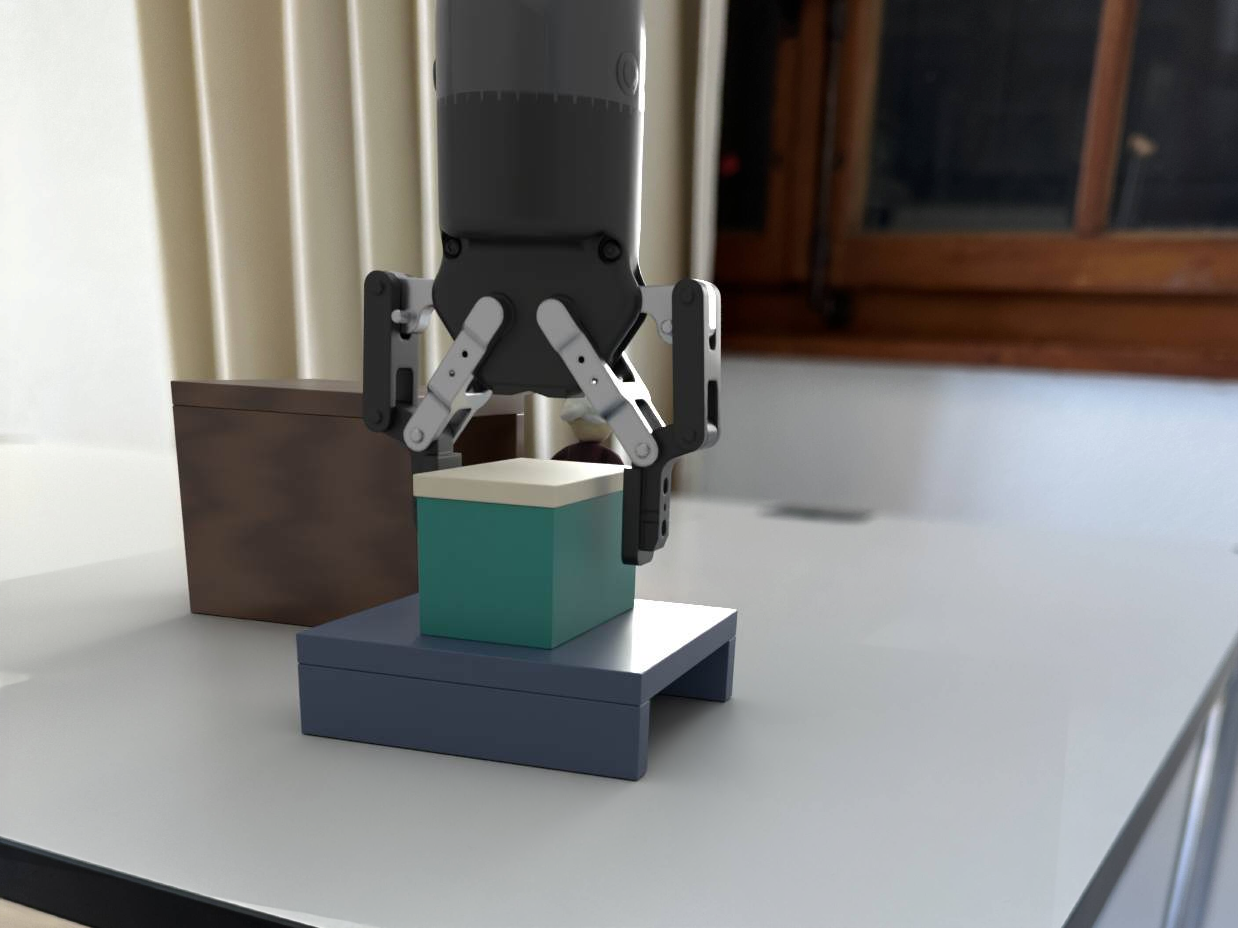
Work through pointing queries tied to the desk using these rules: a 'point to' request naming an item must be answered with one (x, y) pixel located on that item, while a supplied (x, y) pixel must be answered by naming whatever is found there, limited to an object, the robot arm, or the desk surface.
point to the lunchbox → (521, 551)
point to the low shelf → (512, 685)
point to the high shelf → (305, 496)
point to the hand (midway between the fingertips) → (538, 554)
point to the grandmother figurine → (586, 435)
